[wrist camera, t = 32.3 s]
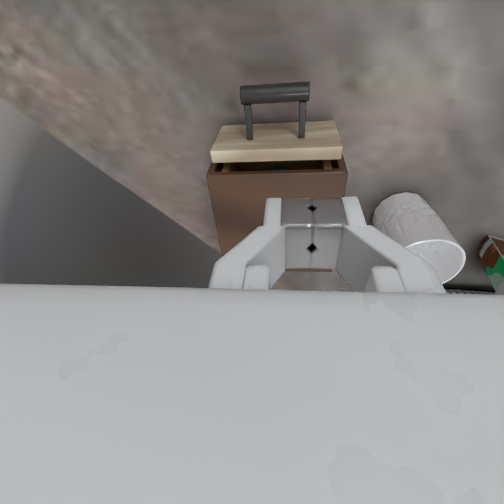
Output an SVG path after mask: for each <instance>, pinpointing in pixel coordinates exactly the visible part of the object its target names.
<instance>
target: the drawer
mask: <svg viewBox="0 0 504 504" xmlns="http://www.w3.org/2000/svg"><path fill="white" fill-rule="evenodd" d="M309 93H310V82H293V83H276V84H260V85H244V86H241V87H240V98H241V103H242V105H244V104H245V105H244V110H245V121H246V125H225V126H222V127H221V129H220V131H219V134H218V136H217V138H216V140H215V142H214V144H213V147H212V149H211V151H210V153H211V159H212V163H224V166H223V168H222V171H221V172H236V171H265V170H266V169H267V168H269V167H271V166H275V165H281V166H285V167H287V168H289V169H290V170H315V169H332V165H331V161H330V160H333V159H341V158H342V151H343V146H342V142H341V139H340V136H339V133H338V130H337V127H336V124H335V121H314V122H306V101H309ZM281 102H299V122H291V123H269V124H253V123H252V109H251V104H262V103H281Z"/></svg>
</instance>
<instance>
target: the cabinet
mask: <svg viewBox="0 0 504 504" xmlns="http://www.w3.org/2000/svg"><path fill="white" fill-rule="evenodd" d="M330 161H331V165H332V169H315V170H276V171H236V172H221V171H222V168H223V166H224V163H211V165H210V167H209V170H208V172H207V175H206V177H207V182H208V187H209V192H210V197H211V202H212V207H213V212H214V217H215V222H216V227H217V232H218V237H219V242H220V247H221V252H222V257H223V256H224V255H225V254H226V253H227V252H229V251H230V250H231V249H232V248H233V247H235V246H236V245H237V244H238V243H239V242H241V241H242V240H243V239H244V238H245V237H247V236H248V235H249V234H250V233H251V232H253V231H254V230H255V229H256V228H257V227H258V226H263V223H264V214H265V204H266V199H267V198H281V200H282V198H334V197H344V193H345V187H346V181H347V175H348V171H347V168H346V164H345V161H344V158H343V154H342V158H341V159H333V160H330ZM285 271H315V272H332V269H318V268H287V269H285Z"/></svg>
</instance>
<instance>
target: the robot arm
mask: <svg viewBox="0 0 504 504" xmlns="http://www.w3.org/2000/svg"><path fill="white" fill-rule="evenodd" d="M287 268H318V269H336V271H337V272H338V273H339V274H340V275H341V277H342V278H343V279H344V280H345V281H346V282H347V283H348V285H349V286H350V287H351V288H352V289H353V290H354V291H309V290H271V288H272V287H273V285H274V284H275V283H276V282H277V280H278V279H279V278H280V276H281V275H282V274H283V272H284V271H285V269H287ZM0 504H504V295H491V294H447V293H446V291H445V289H444V287H443V285H442V283H441V281H440V279H439V277H438V275H437V273H436V271H435V269H434V267H433V266H432V265H431V264H429V263H428V262H426V261H425V260H423V259H422V258H420V257H419V256H417V255H416V254H414V253H413V252H411V251H410V250H408V249H406V248H405V247H403V246H402V245H400V244H399V243H397V242H396V241H394V240H393V239H391V238H390V237H388V236H387V235H385V234H384V233H382V232H381V231H379V230H378V229H376V228H375V227H373V226H372V225H367V224H366V221H365V218H364V215H363V212H362V209H361V206H360V203H359V200H358V197H356V196H353V197H334V198H282V200H281V198H267V199H266V204H265V214H264V223H263V226H258V227H257V228H256V229H255V230H254V231H253V232H251V233H250V234H249V235H248V236H247V237H245V238H244V239H243V240H242V241H241V242H239V243H238V244H237V245H236V246H235V247H233V248H232V249H231V250H230V251H229V252H227V253H226V254H225V255H224V256H223V257H222V258H220V259H219V260H218V261H217V262H215V265H214V268H213V272H212V276H211V279H210V283H209V286H208V288H172V287H130V286H128V287H127V286H85V285H41V284H0Z"/></svg>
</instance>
